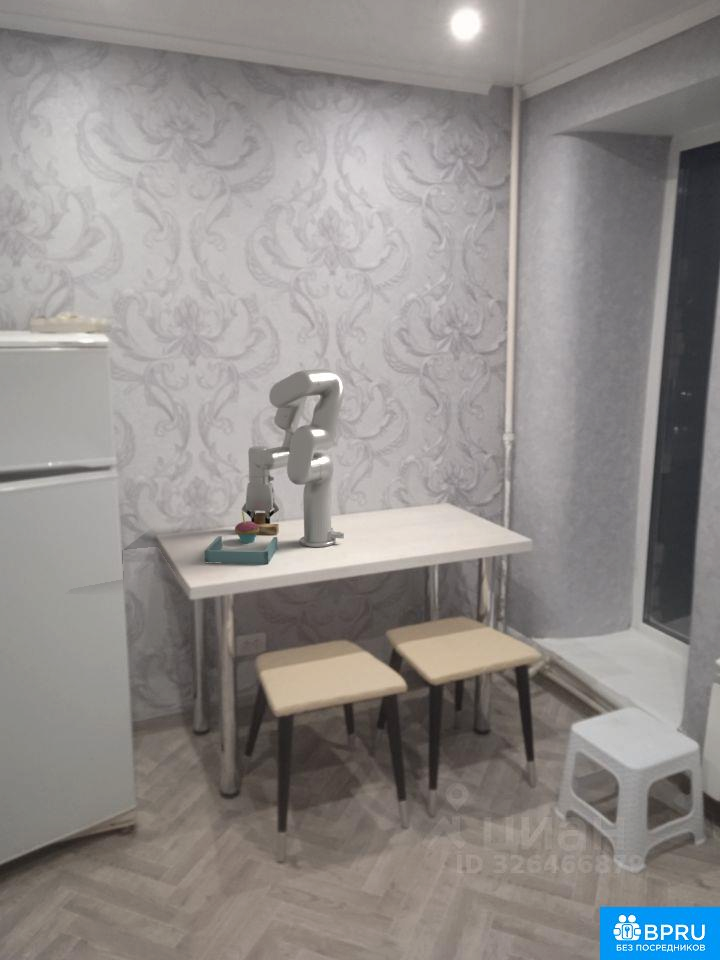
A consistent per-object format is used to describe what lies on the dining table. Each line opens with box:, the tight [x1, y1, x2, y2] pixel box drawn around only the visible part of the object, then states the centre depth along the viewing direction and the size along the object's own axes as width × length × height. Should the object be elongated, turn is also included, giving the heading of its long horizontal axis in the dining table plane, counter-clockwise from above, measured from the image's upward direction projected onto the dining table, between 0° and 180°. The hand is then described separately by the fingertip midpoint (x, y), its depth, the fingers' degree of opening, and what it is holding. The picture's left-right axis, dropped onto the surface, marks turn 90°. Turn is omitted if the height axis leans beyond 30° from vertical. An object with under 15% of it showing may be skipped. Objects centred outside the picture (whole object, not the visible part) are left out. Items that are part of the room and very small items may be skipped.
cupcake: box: [234, 509, 259, 544], centre depth 255 cm, size 9×8×12 cm
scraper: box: [254, 512, 280, 536], centre depth 268 cm, size 14×8×6 cm, turn 86°
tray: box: [203, 535, 279, 565], centre depth 240 cm, size 20×17×4 cm
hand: (260, 527), depth 271 cm, fingers closed on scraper, 4 cm apart
